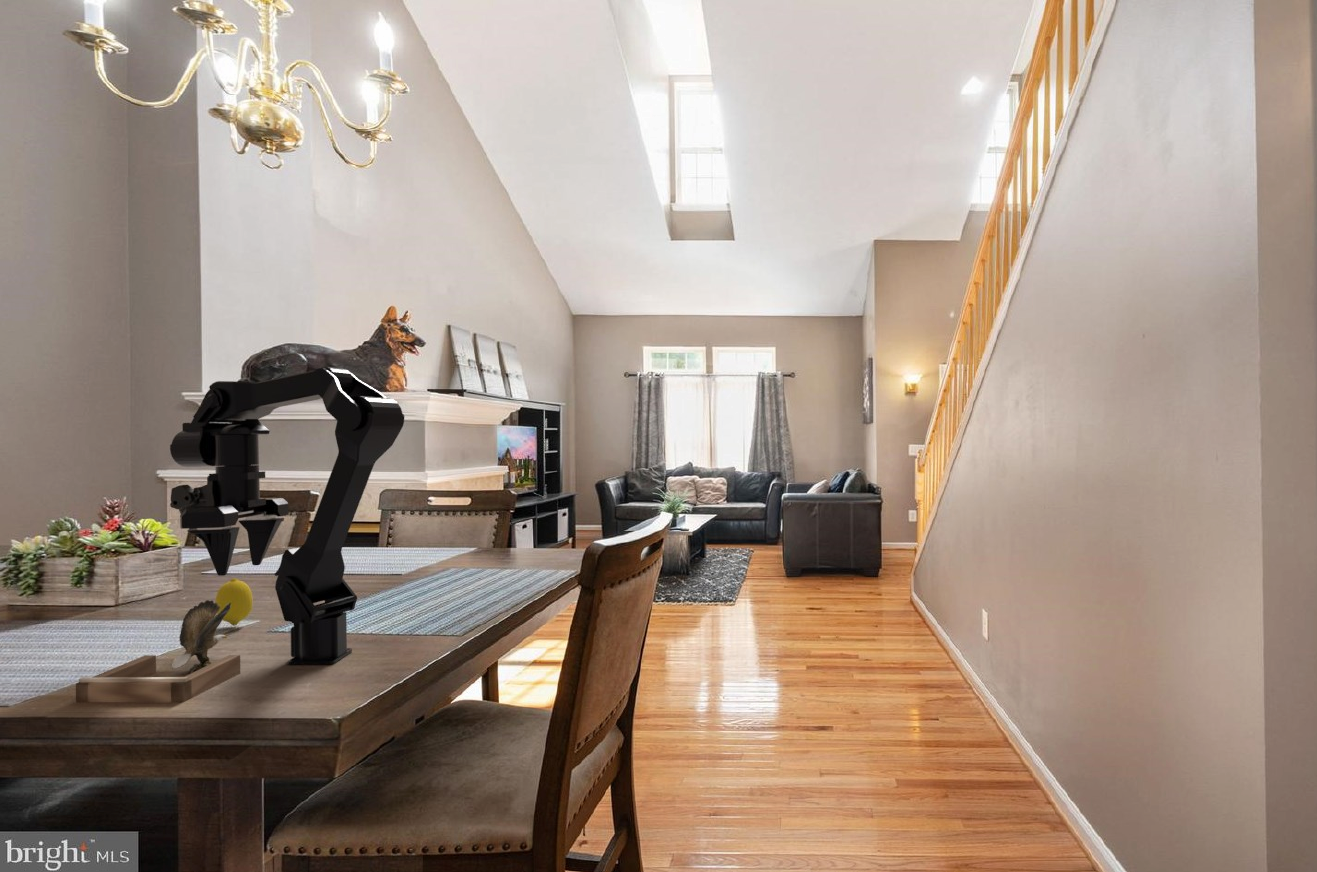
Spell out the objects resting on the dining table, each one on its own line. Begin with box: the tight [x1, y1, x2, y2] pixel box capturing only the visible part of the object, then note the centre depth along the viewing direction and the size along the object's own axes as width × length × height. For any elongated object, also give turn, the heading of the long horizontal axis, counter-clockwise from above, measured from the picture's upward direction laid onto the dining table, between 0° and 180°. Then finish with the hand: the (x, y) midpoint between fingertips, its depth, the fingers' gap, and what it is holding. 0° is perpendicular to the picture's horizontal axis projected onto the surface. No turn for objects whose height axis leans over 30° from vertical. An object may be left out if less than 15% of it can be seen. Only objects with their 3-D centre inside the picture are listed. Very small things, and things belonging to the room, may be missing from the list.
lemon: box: [214, 577, 254, 626], centre depth 126 cm, size 6×6×8 cm
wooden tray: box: [75, 654, 241, 703], centre depth 94 cm, size 13×12×3 cm
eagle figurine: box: [171, 600, 231, 674], centre depth 102 cm, size 8×7×9 cm
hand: (240, 569), depth 112 cm, fingers open, 9 cm apart
